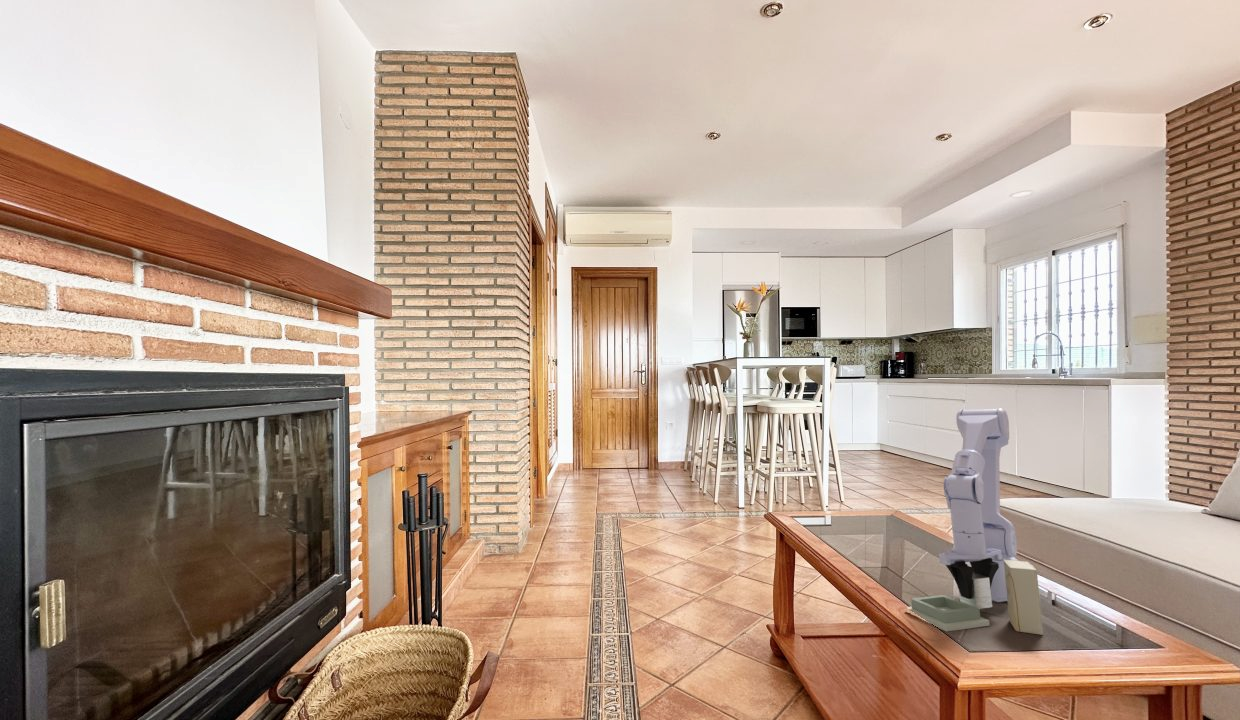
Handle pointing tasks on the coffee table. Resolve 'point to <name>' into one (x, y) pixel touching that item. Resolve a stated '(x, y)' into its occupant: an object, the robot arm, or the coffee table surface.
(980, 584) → the aluminium block
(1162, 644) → the coffee table surface
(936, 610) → the tray
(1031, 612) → the skincare box
